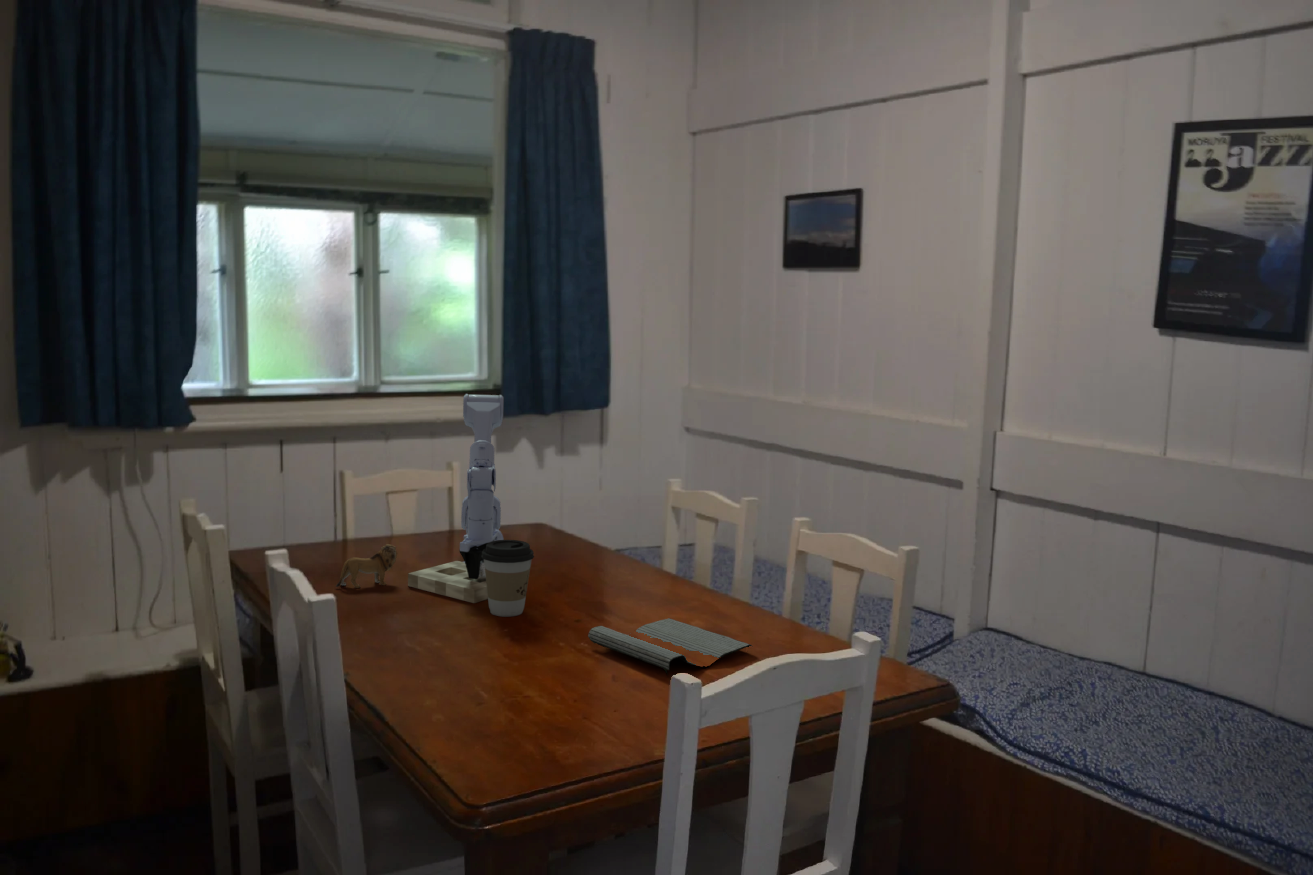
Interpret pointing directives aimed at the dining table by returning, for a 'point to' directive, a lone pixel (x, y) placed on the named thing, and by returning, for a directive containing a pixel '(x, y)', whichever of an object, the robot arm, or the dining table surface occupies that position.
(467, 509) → the robot arm
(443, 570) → the jig plate
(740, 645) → the mat
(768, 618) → the dining table surface
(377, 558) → the lion figurine
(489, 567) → the coffee cup
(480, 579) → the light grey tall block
